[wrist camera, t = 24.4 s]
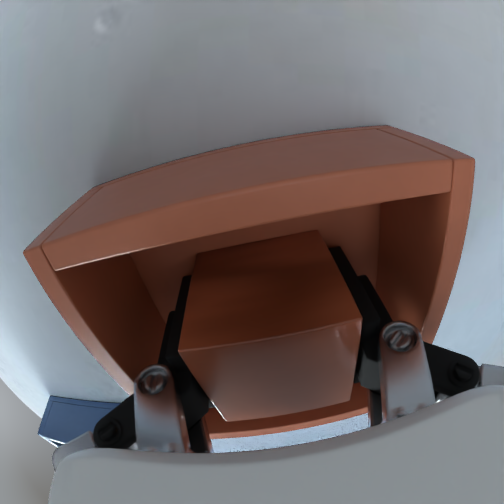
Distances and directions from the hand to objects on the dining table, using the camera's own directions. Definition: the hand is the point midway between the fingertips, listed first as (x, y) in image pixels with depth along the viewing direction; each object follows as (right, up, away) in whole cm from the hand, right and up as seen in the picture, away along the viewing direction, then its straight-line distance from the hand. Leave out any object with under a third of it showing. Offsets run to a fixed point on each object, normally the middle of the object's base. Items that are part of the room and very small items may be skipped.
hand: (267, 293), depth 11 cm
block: (0, 0, 0) cm, 0 cm away
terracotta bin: (0, +1, +1) cm, 1 cm away
